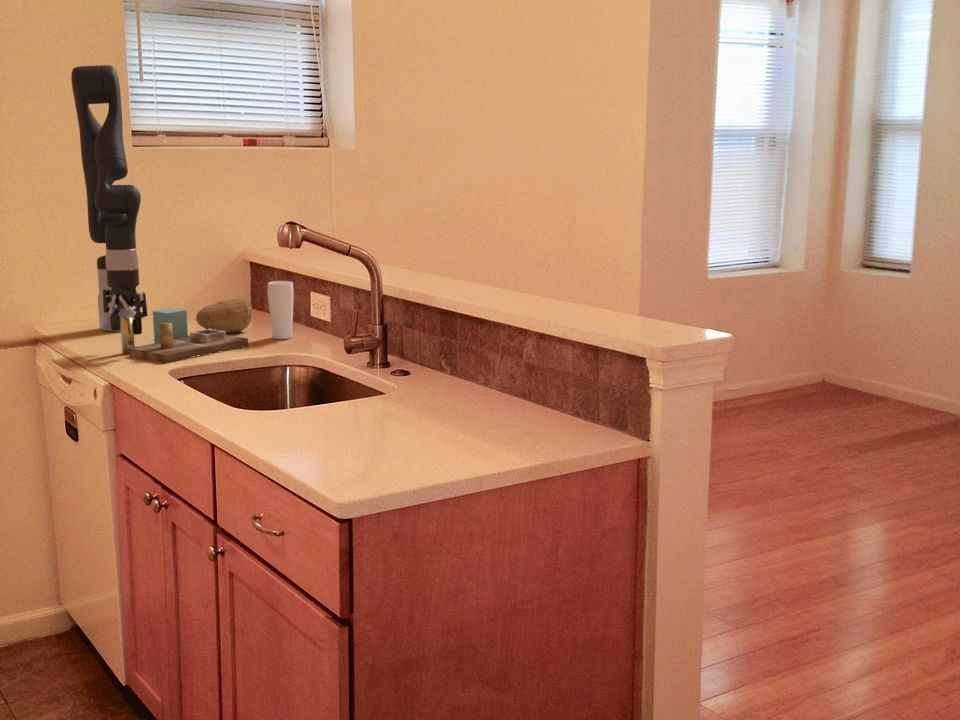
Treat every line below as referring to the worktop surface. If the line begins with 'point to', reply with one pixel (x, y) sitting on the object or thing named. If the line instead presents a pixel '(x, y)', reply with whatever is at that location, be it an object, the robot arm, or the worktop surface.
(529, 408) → the worktop surface
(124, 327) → the pin
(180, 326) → the block
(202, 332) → the board
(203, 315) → the potato
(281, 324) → the drinking glass
